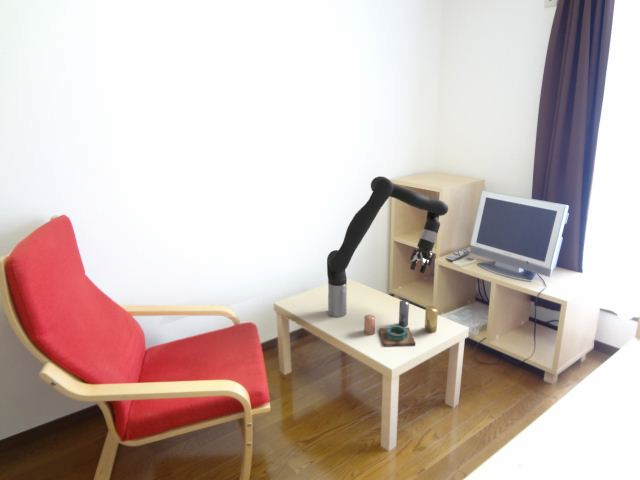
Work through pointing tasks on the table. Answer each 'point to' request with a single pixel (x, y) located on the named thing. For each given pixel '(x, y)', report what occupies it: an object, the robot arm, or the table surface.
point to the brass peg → (431, 319)
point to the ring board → (396, 336)
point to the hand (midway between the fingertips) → (416, 271)
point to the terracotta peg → (369, 324)
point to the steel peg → (403, 313)
